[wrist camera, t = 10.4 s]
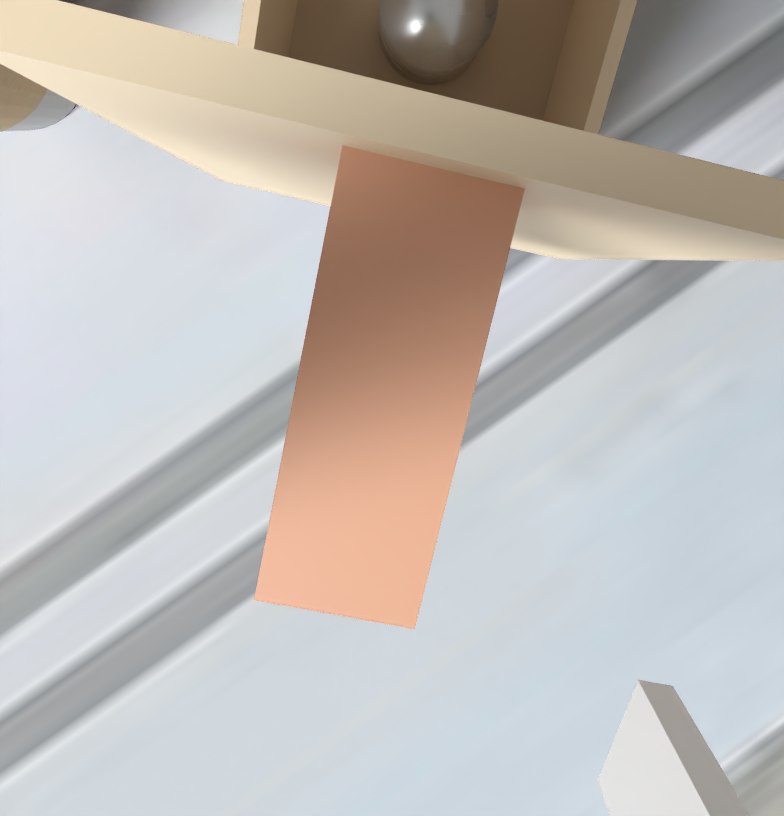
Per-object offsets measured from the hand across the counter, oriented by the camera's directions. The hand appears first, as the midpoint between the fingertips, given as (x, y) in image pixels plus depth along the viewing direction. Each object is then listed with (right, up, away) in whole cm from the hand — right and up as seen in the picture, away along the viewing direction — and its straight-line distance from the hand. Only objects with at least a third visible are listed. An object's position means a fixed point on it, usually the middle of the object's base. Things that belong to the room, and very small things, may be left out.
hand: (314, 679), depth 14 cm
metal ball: (+3, +24, +19) cm, 30 cm away
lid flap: (+2, +12, +4) cm, 13 cm away
